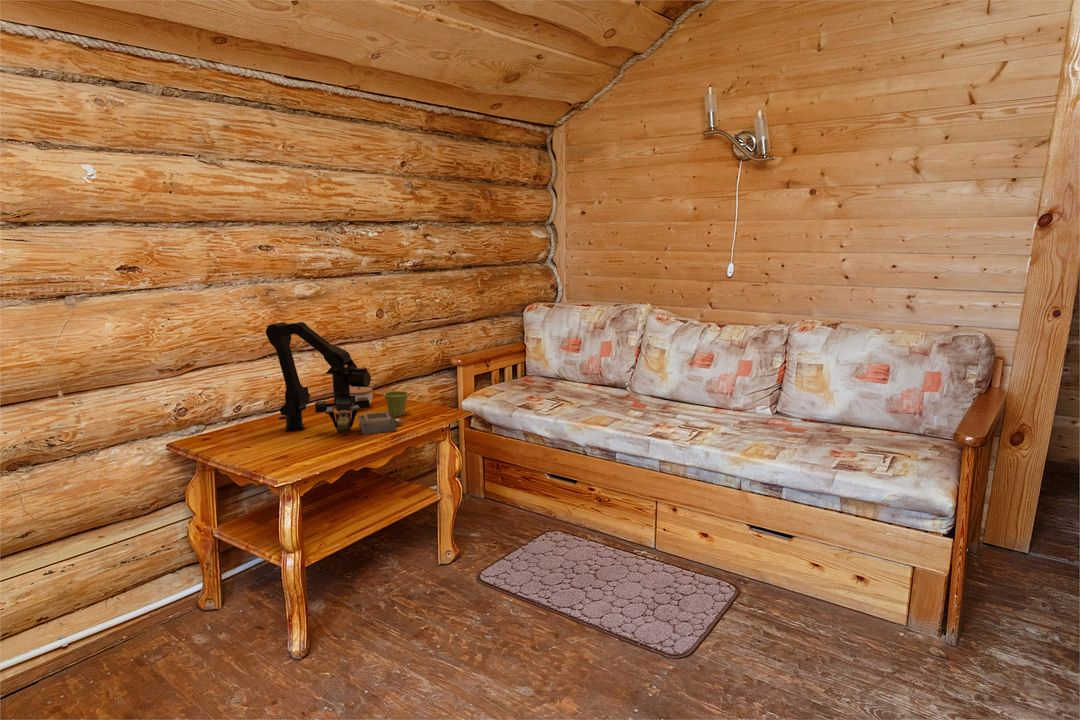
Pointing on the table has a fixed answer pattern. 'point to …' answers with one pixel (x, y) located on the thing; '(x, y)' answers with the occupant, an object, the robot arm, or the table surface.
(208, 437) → the table surface
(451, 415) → the table surface
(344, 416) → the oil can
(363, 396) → the lidded jar
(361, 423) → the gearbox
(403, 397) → the plant pot
